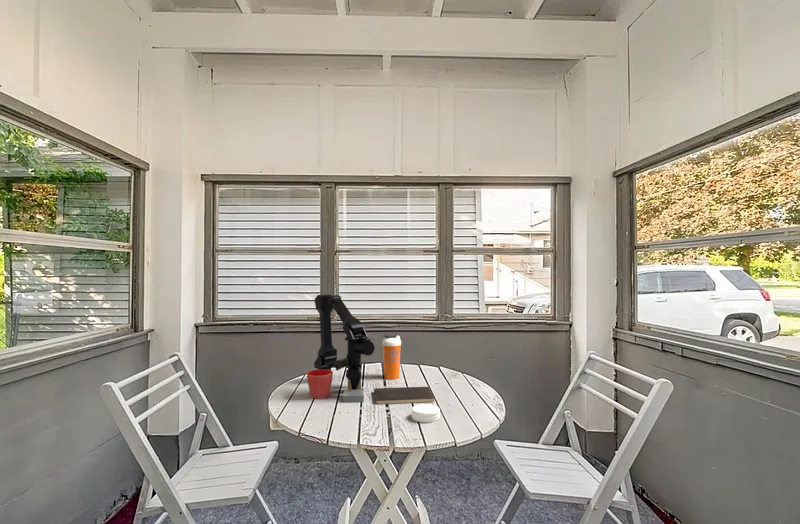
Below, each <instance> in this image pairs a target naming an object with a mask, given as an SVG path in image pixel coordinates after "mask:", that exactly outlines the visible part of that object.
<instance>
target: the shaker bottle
mask: <svg viewBox="0 0 800 524" xmlns="http://www.w3.org/2000/svg"><path fill="white" fill-rule="evenodd" d="M383 337H384V338H383V339H382V344H381V345H382V352H383V353H382V355H383V358H382V359H383V374H384V375H383V376H384V379H386V380H396V379H399V378H400V374H401V373H400V367H401V346H402V340H401V336H400V335H399V334H397V333H395V334H394V335H393V334H384V335H383Z"/></svg>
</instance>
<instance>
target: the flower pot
mask: <svg viewBox="0 0 800 524" xmlns="http://www.w3.org/2000/svg"><path fill="white" fill-rule="evenodd" d="M333 374H334V372H333V370H332V369H331V370H327V369H313V370H308V371H307V372H306V380H307V385H308V389H309V396H310V397H311V398H312V399H315V400H316V399H317V400H318V399H325V398H328V397H330V395H331V388H332V382H333V379H332V377H333Z"/></svg>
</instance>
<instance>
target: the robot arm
mask: <svg viewBox="0 0 800 524" xmlns="http://www.w3.org/2000/svg"><path fill="white" fill-rule="evenodd" d="M314 305H315V309H316V311H317V313H319V326H320V347H319V349H318V351H317V357H316V360H315V361H314V363H313V366H314V369H316V370H319V369H327V370H331V371H332V368H335V371H339V370H342V369H344V368H346V369H347V370H346V372H345V378H346V379H347V380H348V379H349V380H350V382H351V386H352V390H356V389H357V386H358V384H359V381H360V379H361V380H362V370H363V368H362V367H363V361H362V355H364V356H366V357H367V356H368V357H369V356H371V355H372V354H373V353H375V348H376V347H375V345H374V343H373V342H372V341H371V338H369V336H368V333H367V332H366V329H365V326H364V324H363V323H362V322H361V320H360V319H358V318H357V317H354V315H353V314H352V313H351V312H350V310H349V308H348V307H347V306H346V305H345V303H344V301H343V300H342V296H341V295H339V294H330V293H328V294H326V293H325V294H317V295H316V297H315V298H314ZM333 310H334V312H335V313H336V314H337V316H338V318H339V319H340V320H341V322H342V329H343V331H344V333H345V335H346V336H345V338H344V340H345V341H346V342H347V354H346V356H345V357H343V358H340V359H338V350H337V348H335V347H334V345H333V338H332V337H333V336H332V335H333V334H332V319H331V317H332V316H331V313H332V311H333ZM332 380H333V376H332Z"/></svg>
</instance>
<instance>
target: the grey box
mask: <svg viewBox="0 0 800 524" xmlns="http://www.w3.org/2000/svg"><path fill="white" fill-rule="evenodd" d="M364 398H365V389H361V390H348V389H344V390H343V395H342V402H343V403H364V402H365V399H364Z"/></svg>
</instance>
